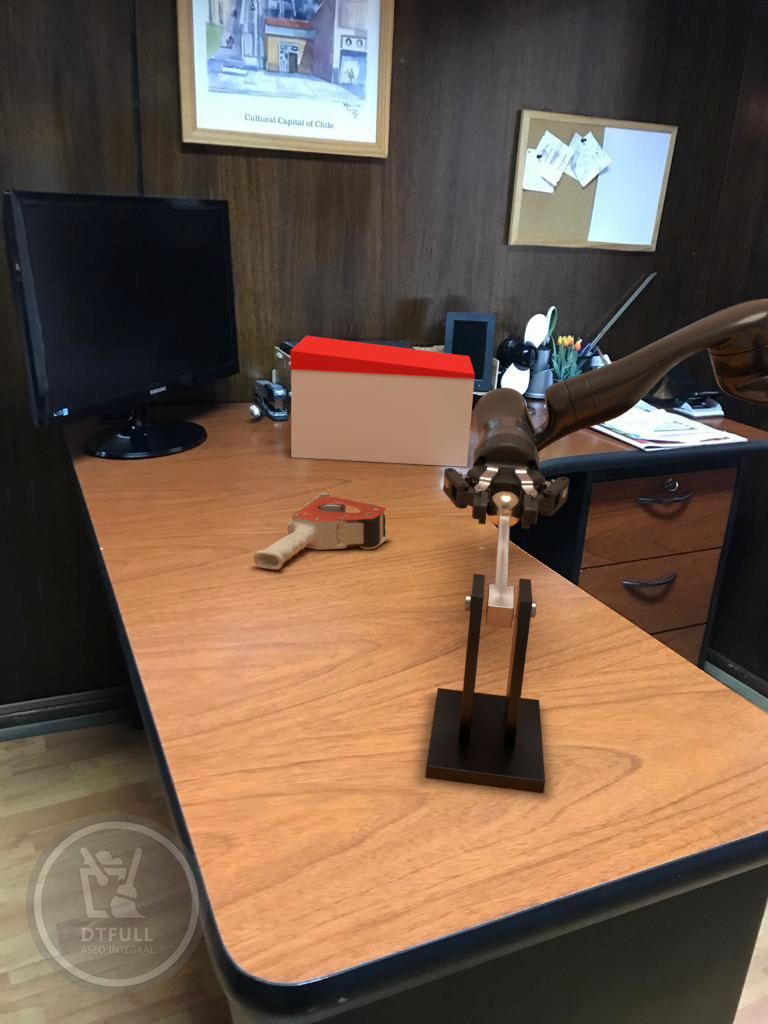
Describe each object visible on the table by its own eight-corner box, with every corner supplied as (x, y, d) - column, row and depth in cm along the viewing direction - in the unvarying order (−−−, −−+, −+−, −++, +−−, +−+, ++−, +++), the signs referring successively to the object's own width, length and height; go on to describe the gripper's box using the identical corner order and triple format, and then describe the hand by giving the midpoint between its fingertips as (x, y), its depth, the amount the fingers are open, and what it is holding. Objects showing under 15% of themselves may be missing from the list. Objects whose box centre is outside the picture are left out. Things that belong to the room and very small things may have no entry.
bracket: (436, 697, 77) (448, 553, 72) (537, 710, 76) (557, 564, 71) (425, 777, 66) (437, 613, 61) (543, 792, 65) (567, 627, 59)
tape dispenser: (256, 584, 103) (401, 565, 107) (253, 549, 100) (401, 531, 105) (245, 529, 118) (372, 514, 123) (242, 497, 116) (371, 483, 120)
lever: (486, 511, 80) (488, 482, 78) (521, 514, 80) (524, 485, 77) (476, 630, 66) (479, 599, 64) (518, 634, 66) (523, 604, 64)
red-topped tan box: (304, 430, 172) (305, 335, 164) (462, 439, 170) (470, 343, 163) (289, 457, 152) (289, 350, 145) (467, 467, 151) (475, 359, 144)
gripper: (563, 498, 91) (574, 559, 75) (443, 488, 93) (429, 545, 77) (571, 437, 88) (584, 486, 72) (447, 427, 90) (433, 474, 74)
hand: (504, 516), depth 75 cm, fingers closed on lever, 3 cm apart
